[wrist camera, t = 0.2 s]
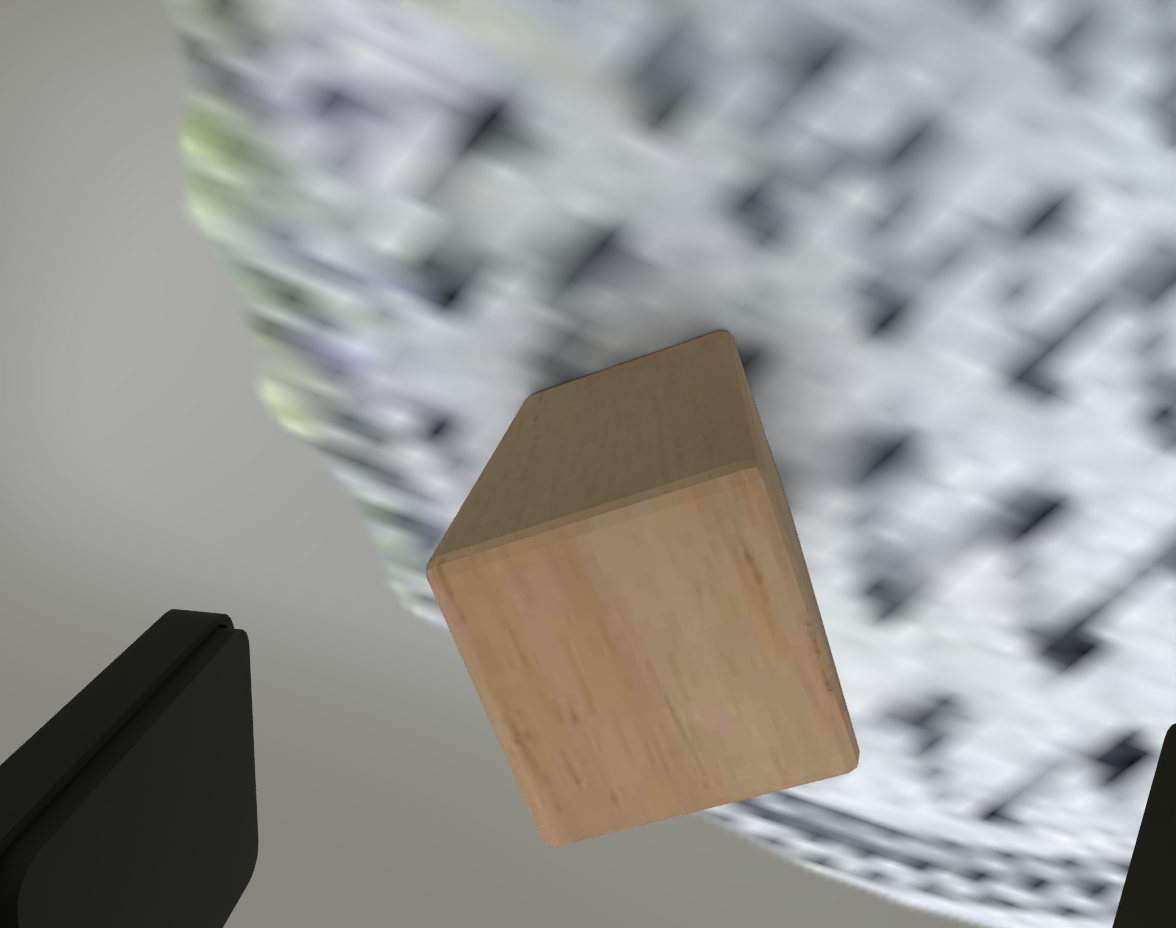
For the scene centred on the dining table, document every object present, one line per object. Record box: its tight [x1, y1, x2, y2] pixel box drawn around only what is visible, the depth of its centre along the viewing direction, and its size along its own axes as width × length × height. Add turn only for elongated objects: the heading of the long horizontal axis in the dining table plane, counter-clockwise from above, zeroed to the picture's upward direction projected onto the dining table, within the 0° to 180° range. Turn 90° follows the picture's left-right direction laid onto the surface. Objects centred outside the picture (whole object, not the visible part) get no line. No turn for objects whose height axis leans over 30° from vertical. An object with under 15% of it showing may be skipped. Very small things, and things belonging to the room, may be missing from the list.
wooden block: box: [427, 331, 860, 846], centre depth 38 cm, size 10×10×20 cm
